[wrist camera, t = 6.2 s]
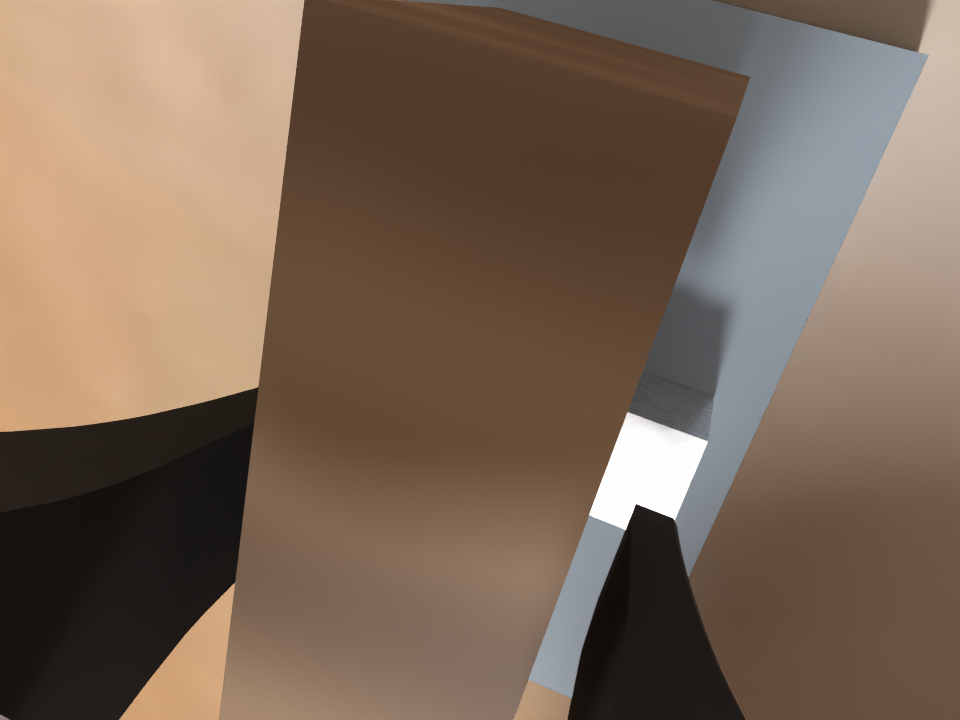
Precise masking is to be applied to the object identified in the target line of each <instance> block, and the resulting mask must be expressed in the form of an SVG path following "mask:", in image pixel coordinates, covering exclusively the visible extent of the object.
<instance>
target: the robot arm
mask: <svg viewBox="0 0 960 720" xmlns="http://www.w3.org/2000/svg"><path fill="white" fill-rule="evenodd" d="M258 388H259V387H258ZM258 388H255V389H251V390H248V391H244V392H240V393H237V394H233V395H229V396H226V397H222V398H218V399H215V400H211V401H207V402H203V403H199V404H195V405H191V406H186V407H182V408H177V409H173V410H169V411H164V412H160V413H156V414H151V415H147V416H141V417H136V418H131V419H125V420H119V421H113V422H105V423H98V424H91V425H84V426H76V427H65V428H52V429H39V430H26V431H14V432H0V720H119V719H120V718H121V716H122V715H123V714H124V712H125V711H126V710H127V708H128V707H129V706H130V704H131V703H132V702H133V700H134V699H135V698H136V696H137V695H138V694H139V692H140V691H141V690H142V688H143V687H144V686H145V685H146V683H147V682H148V681H149V679H150V678H151V677H152V675H153V674H154V673H155V672H156V670H157V669H158V668H159V667H160V665H161V664H162V663H163V662H164V660H165V659H166V658H167V657H168V655H169V654H170V653H171V652H172V650H173V649H174V648H175V647H176V645H177V644H178V643H179V642H180V640H181V639H182V638H183V637H184V635H185V634H186V633H187V632H188V631H189V630H190V629H191V627H192V626H193V625H194V624H195V623H196V622H197V621H198V620H199V619H200V617H201V616H202V615H203V614H204V613H205V612H206V611H207V610H208V609H209V608H210V607H211V606H212V605H213V604H214V603H215V602H216V601H217V600H218V599H219V598H220V597H221V596H222V595H223V594H224V593H225V592H226V591H227V590H228V589H229V588H230V587H231V586H232V585H233V584H234V583H235V581H236V573H237V564H238V556H239V547H240V539H241V531H242V522H243V514H244V505H245V497H246V489H247V480H248V472H249V463H250V455H251V446H252V438H253V430H254V421H255V413H256V404H257V396H258ZM568 720H745V718H744V716H743V714H742V712H741V710H740V708H739V706H738V704H737V702H736V700H735V698H734V696H733V694H732V692H731V691H730V688H729V686H728V684H727V682H726V680H725V678H724V675H723V673H722V671H721V669H720V666H719V664H718V662H717V659H716V657H715V654H714V652H713V649H712V647H711V644H710V642H709V639H708V637H707V634H706V631H705V629H704V626H703V623H702V620H701V617H700V614H699V611H698V608H697V605H696V602H695V599H694V596H693V592H692V589H691V586H690V582H689V579H688V575H687V571H686V567H685V563H684V559H683V555H682V551H681V546H680V541H679V535H678V528H677V525H676V523H675V521H674V519H673V518H672V517H669V516H667V515H664V514H662V513H659V512H656V511H654V510H651V509H649V508H646V507H644V506H641V505H638V504H635V507H634V509H633V512H632V514H631V517H630V519H629V522H628V524H627V527H626V530H625V532H624V535H623V537H622V540H621V542H620V545H619V547H618V550H617V552H616V555H615V557H614V560H613V562H612V565H611V567H610V570H609V572H608V575H607V577H606V580H605V582H604V585H603V587H602V590H601V592H600V595H599V597H598V600H597V603H596V607H595V610H594V613H593V616H592V619H591V622H590V625H589V628H588V631H587V635H586V638H585V641H584V644H583V647H582V650H581V655H580V659H579V664H578V669H577V674H576V679H575V684H574V689H573V695H572V700H571V705H570V710H569V715H568Z"/></svg>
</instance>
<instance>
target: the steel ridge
mask: <svg viewBox="0 0 960 720" xmlns="http://www.w3.org/2000/svg"><path fill="white" fill-rule="evenodd" d="M713 404H714V395H712V394H709V393H706V392H703V391H700V390H697V389H695V388H692V387H689V386H686V385H683V384H680V383H678V382H675V381H672V380H669V379H666V378H663V377H661V376H658V375H655V374H652V373H649V372H646V371H644V370H643V372H642V374H641V377H640V380H639V383H638V385H637V388H636V391H635V393H634V396H633V399H632V401H631V404H630V407H629V409H628V412H627V415H626V418H625V420H624V423H623V426H622V428H621V431H620V434H619V436H618V439H617V442H616V445H615V447H614V450H613V453H612V455H611V458H610V461H609V463H608V466H607V469H606V471H605V474H604V477H603V480H602V482H601V485H600V488H599V490H598V493H597V496H596V498H595V501H594V504H593V506H592V509H591V512H590V515H591V516H593V517H596V518H598V519H601V520H603V521H606V522H608V523H611V524H613V525H616V526H618V527H621V528H624V529H626V527H627V524H628V522H629V519H630V517H631V514H632V512H633V509H634V507H635V504H638V505H641V506H644V507H646V508H649V509H651V510H654V511H656V512H659V513H662V514H664V515H667V516H669V517H672V518H673V519H674V520H675V517H676V515H677V513H678V510H679V508H680V506H681V503H682V501H683V499H684V496H685V494H686V492H687V489H688V487H689V485H690V482H691V480H692V478H693V475H694V473H695V471H696V468H697V466H698V464H699V461H700V459H701V457H702V455H703V452H704V450H705V448H706V445H707V443H708V439H709V432H710V425H711V418H712V411H713Z"/></svg>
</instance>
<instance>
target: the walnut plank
mask: <svg viewBox="0 0 960 720" xmlns="http://www.w3.org/2000/svg"><path fill="white" fill-rule="evenodd" d="M749 80H750V76H746V75H742V74H739V73H735V72H731V71H728V70H724V69H720V68H717V67H713V66H710V65H706V64H702V63H699V62H695V61H691V60H688V59H684V58H681V57H677V56H673V55H670V54H666V53H662V52H659V51H655V50H651V49H648V48H644V47H641V46H637V45H633V44H630V43H626V42H622V41H619V40H615V39H612V38H608V37H604V36H601V35H597V34H593V33H590V32H586V31H582V30H579V29H575V28H572V27H568V26H564V25H561V24H557V23H553V22H550V21H546V20H543V19H539V18H535V17H532V16H528V15H524V14H521V13H517V12H513V11H510V10H506V9H503V8H496V7H482V6H468V5H453V4H439V3H425V2H411V1H397V0H305V1H304V9H303V18H302V26H301V34H300V43H299V51H298V60H297V68H296V76H295V85H294V93H293V102H292V110H291V119H290V127H289V135H288V144H287V152H286V161H285V169H284V177H283V186H282V194H281V203H280V211H279V219H278V228H277V236H276V245H275V253H274V261H273V270H272V278H271V287H270V295H269V304H268V312H267V320H266V329H265V337H264V346H263V354H262V362H261V371H260V379H259V388H258V396H257V404H256V413H255V421H254V430H253V438H252V446H251V455H250V463H249V472H248V480H247V489H246V497H245V505H244V514H243V522H242V531H241V539H240V547H239V556H238V564H237V573H236V581H235V589H234V598H233V606H232V615H231V623H230V631H229V640H228V648H227V657H226V665H225V674H224V682H223V690H222V699H221V707H220V716H219V720H513V719H514V717H515V714H516V711H517V708H518V706H519V703H520V700H521V698H522V695H523V692H524V690H525V687H526V684H527V682H528V679H529V676H530V673H531V671H532V668H533V665H534V663H535V660H536V657H537V655H538V652H539V649H540V646H541V644H542V641H543V638H544V636H545V633H546V630H547V628H548V625H549V622H550V620H551V617H552V614H553V611H554V609H555V606H556V603H557V601H558V598H559V595H560V593H561V590H562V587H563V585H564V582H565V579H566V576H567V574H568V571H569V568H570V566H571V563H572V560H573V558H574V555H575V552H576V550H577V547H578V544H579V541H580V539H581V536H582V533H583V531H584V528H585V525H586V523H587V520H588V517H589V515H590V512H591V509H592V506H593V504H594V501H595V498H596V496H597V493H598V490H599V488H600V485H601V482H602V480H603V477H604V474H605V471H606V469H607V466H608V463H609V461H610V458H611V455H612V453H613V450H614V447H615V445H616V442H617V439H618V436H619V434H620V431H621V428H622V426H623V423H624V420H625V418H626V415H627V412H628V409H629V407H630V404H631V401H632V399H633V396H634V393H635V391H636V388H637V385H638V383H639V380H640V377H641V374H642V372H643V369H644V366H645V364H646V361H647V358H648V356H649V353H650V350H651V348H652V345H653V342H654V339H655V337H656V334H657V331H658V329H659V326H660V323H661V321H662V318H663V315H664V313H665V310H666V307H667V304H668V302H669V299H670V296H671V294H672V291H673V288H674V286H675V283H676V280H677V278H678V275H679V272H680V269H681V267H682V264H683V261H684V259H685V256H686V253H687V251H688V248H689V245H690V243H691V240H692V237H693V234H694V232H695V229H696V226H697V224H698V221H699V218H700V216H701V213H702V210H703V208H704V205H705V202H706V199H707V197H708V194H709V191H710V189H711V186H712V183H713V181H714V178H715V175H716V172H717V170H718V167H719V164H720V162H721V159H722V156H723V154H724V151H725V148H726V146H727V143H728V140H729V137H730V135H731V132H732V129H733V127H734V124H735V121H736V119H737V116H738V113H739V110H740V107H741V104H742V101H743V98H744V95H745V92H746V89H747V86H748V83H749Z"/></svg>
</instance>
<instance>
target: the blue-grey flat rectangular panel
mask: <svg viewBox="0 0 960 720" xmlns="http://www.w3.org/2000/svg"><path fill="white" fill-rule="evenodd" d="M403 1H411V2H425V3H439V4H453V5H468V6H482V7H496V8H503V9H506V10H510V11H513V12H517V13H521V14H524V15H528V16H532V17H535V18H539V19H543V20H546V21H550V22H553V23H557V24H561V25H564V26H568V27H572V28H575V29H579V30H582V31H586V32H590V33H593V34H597V35H601V36H604V37H608V38H612V39H615V40H619V41H622V42H626V43H630V44H633V45H637V46H641V47H644V48H648V49H651V50H655V51H659V52H662V53H666V54H670V55H673V56H677V57H681V58H684V59H688V60H691V61H695V62H699V63H702V64H706V65H710V66H713V67H717V68H720V69H724V70H728V71H731V72H735V73H739V74H742V75H746V76H750V80H749V83H748V86H747V89H746V92H745V95H744V98H743V101H742V104H741V107H740V110H739V113H738V116H737V119H736V121H735V124H734V127H733V129H732V132H731V135H730V137H729V140H728V143H727V146H726V148H725V151H724V154H723V156H722V159H721V162H720V164H719V167H718V170H717V172H716V175H715V178H714V181H713V183H712V186H711V189H710V191H709V194H708V197H707V199H706V202H705V205H704V208H703V210H702V213H701V216H700V218H699V221H698V224H697V226H696V229H695V232H694V234H693V237H692V240H691V243H690V245H689V248H688V251H687V253H686V256H685V259H684V261H683V264H682V267H681V269H680V272H679V275H678V278H677V280H676V283H675V286H674V288H673V291H672V294H671V296H670V299H669V302H668V304H667V307H666V310H665V313H664V315H663V318H662V321H661V323H660V326H659V329H658V331H657V334H656V337H655V339H654V342H653V345H652V348H651V350H650V353H649V356H648V358H647V361H646V364H645V366H644V369H643V370H644V371H646V372H649V373H652V374H655V375H658V376H661V377H663V378H666V379H669V380H672V381H675V382H678V383H680V384H683V385H686V386H689V387H692V388H695V389H697V390H700V391H703V392H706V393H709V394H712V395H714V404H713V411H712V418H711V425H710V432H709V439H708V443H707V445H706V448H705V450H704V452H703V455H702V457H701V459H700V461H699V464H698V466H697V468H696V471H695V473H694V475H693V478H692V480H691V482H690V485H689V487H688V489H687V492H686V494H685V496H684V499H683V501H682V503H681V506H680V508H679V510H678V513H677V515H676V517H675V520H674V521H675V523H676V525H677V528H678V535H679V541H680V546H681V551H682V555H683V559H684V563H685V567H686V571H687V575H688V578H689V576H690V573H691V571H692V569H693V567H694V565H695V563H696V560H697V558H698V556H699V554H700V552H701V549H702V547H703V545H704V543H705V541H706V539H707V536H708V534H709V532H710V530H711V528H712V526H713V523H714V521H715V519H716V517H717V515H718V513H719V510H720V508H721V506H722V504H723V502H724V499H725V497H726V495H727V493H728V491H729V489H730V486H731V484H732V482H733V480H734V478H735V476H736V473H737V471H738V469H739V467H740V465H741V463H742V460H743V458H744V456H745V454H746V452H747V449H748V447H749V445H750V443H751V441H752V439H753V436H754V434H755V432H756V430H757V428H758V426H759V423H760V421H761V419H762V417H763V415H764V413H765V410H766V408H767V406H768V404H769V402H770V399H771V397H772V395H773V393H774V391H775V389H776V386H777V384H778V382H779V380H780V378H781V376H782V373H783V371H784V369H785V367H786V365H787V363H788V360H789V358H790V356H791V354H792V352H793V349H794V347H795V345H796V343H797V341H798V339H799V336H800V334H801V332H802V330H803V328H804V326H805V323H806V321H807V319H808V317H809V315H810V313H811V310H812V308H813V306H814V304H815V302H816V299H817V297H818V295H819V293H820V291H821V289H822V286H823V284H824V282H825V280H826V278H827V276H828V273H829V271H830V269H831V267H832V265H833V263H834V260H835V258H836V256H837V254H838V252H839V249H840V247H841V245H842V243H843V241H844V239H845V236H846V234H847V232H848V230H849V228H850V226H851V223H852V221H853V219H854V217H855V215H856V213H857V210H858V208H859V206H860V204H861V202H862V199H863V197H864V195H865V193H866V191H867V189H868V186H869V184H870V182H871V180H872V178H873V176H874V173H875V171H876V169H877V167H878V165H879V163H880V160H881V158H882V156H883V154H884V152H885V149H886V147H887V145H888V143H889V141H890V139H891V136H892V134H893V132H894V130H895V128H896V126H897V123H898V121H899V119H900V117H901V115H902V113H903V110H904V108H905V106H906V104H907V102H908V99H909V97H910V95H911V93H912V91H913V89H914V86H915V84H916V82H917V80H918V78H919V76H920V73H921V71H922V69H923V67H924V65H925V63H926V60H927V58H928V56H929V55H926V54H922V53H918V52H914V51H910V50H906V49H902V48H898V47H895V46H891V45H887V44H883V43H879V42H875V41H871V40H867V39H863V38H859V37H855V36H851V35H847V34H844V33H840V32H836V31H832V30H828V29H824V28H820V27H816V26H812V25H808V24H804V23H800V22H797V21H793V20H789V19H785V18H781V17H777V16H773V15H769V14H765V13H761V12H757V11H753V10H749V9H746V8H742V7H738V6H734V5H730V4H726V3H722V2H718V1H714V0H403ZM625 530H626V529H624V528H621V527H618V526H616V525H613V524H611V523H608V522H606V521H603V520H601V519H598V518H596V517H593V516H591V515H589V517H588V520H587V523H586V525H585V528H584V531H583V533H582V536H581V539H580V541H579V544H578V547H577V550H576V552H575V555H574V558H573V560H572V563H571V566H570V568H569V571H568V574H567V576H566V579H565V582H564V585H563V587H562V590H561V593H560V595H559V598H558V601H557V603H556V606H555V609H554V611H553V614H552V617H551V620H550V622H549V625H548V628H547V630H546V633H545V636H544V638H543V641H542V644H541V646H540V649H539V652H538V655H537V657H536V660H535V663H534V665H533V668H532V671H531V673H530V676H529V679H528V680H530V681H533V682H535V683H537V684H539V685H542V686H544V687H546V688H548V689H551V690H553V691H555V692H557V693H560V694H562V695H564V696H566V697H569V698H571V699H572V695H573V689H574V684H575V679H576V674H577V669H578V664H579V659H580V655H581V650H582V647H583V644H584V641H585V638H586V635H587V631H588V628H589V625H590V622H591V619H592V616H593V613H594V610H595V607H596V603H597V600H598V597H599V595H600V592H601V590H602V587H603V585H604V582H605V580H606V577H607V575H608V572H609V570H610V567H611V565H612V562H613V560H614V557H615V555H616V552H617V550H618V547H619V545H620V542H621V540H622V537H623V535H624V532H625Z"/></svg>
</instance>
